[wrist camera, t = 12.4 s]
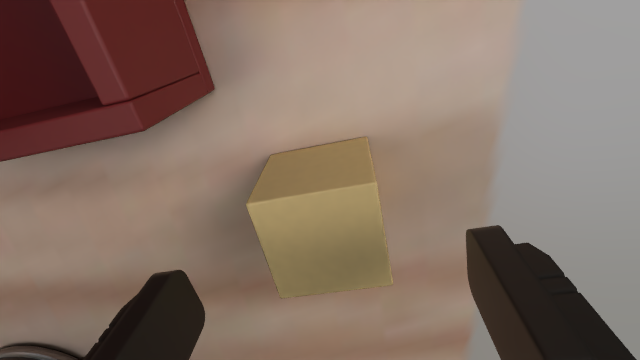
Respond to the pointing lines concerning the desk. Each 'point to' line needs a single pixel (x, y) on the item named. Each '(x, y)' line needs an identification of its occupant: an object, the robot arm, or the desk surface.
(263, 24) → the desk surface
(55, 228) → the desk surface
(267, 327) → the desk surface
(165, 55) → the red cubby box
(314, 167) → the tan cube
